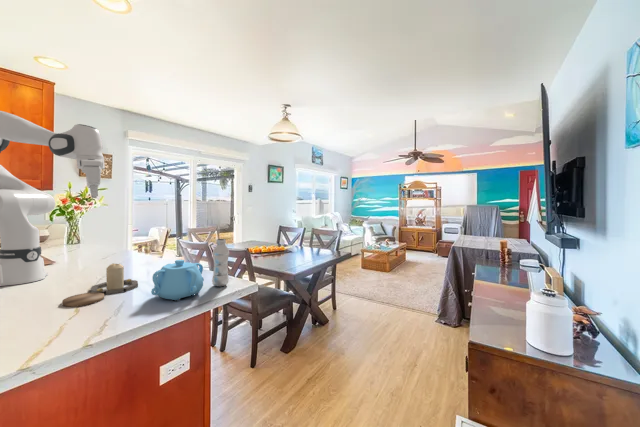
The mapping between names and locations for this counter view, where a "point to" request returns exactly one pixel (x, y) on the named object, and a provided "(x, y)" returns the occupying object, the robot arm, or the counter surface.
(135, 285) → the collar
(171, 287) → the decorative pot
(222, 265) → the plastic bottle
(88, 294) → the coaster
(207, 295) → the counter surface
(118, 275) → the candle
